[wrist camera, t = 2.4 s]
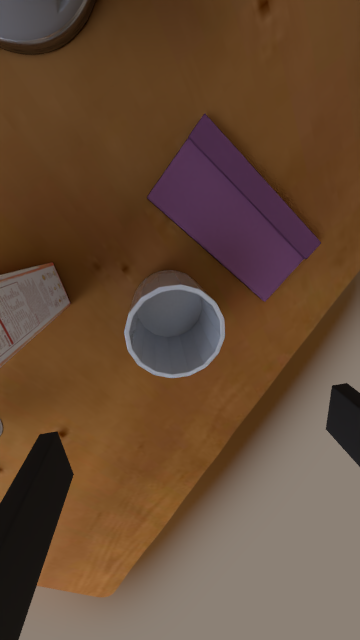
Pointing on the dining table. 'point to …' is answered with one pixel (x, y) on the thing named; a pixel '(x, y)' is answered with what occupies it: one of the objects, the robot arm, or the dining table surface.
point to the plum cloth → (232, 211)
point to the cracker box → (28, 306)
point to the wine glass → (1, 427)
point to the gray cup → (173, 325)
